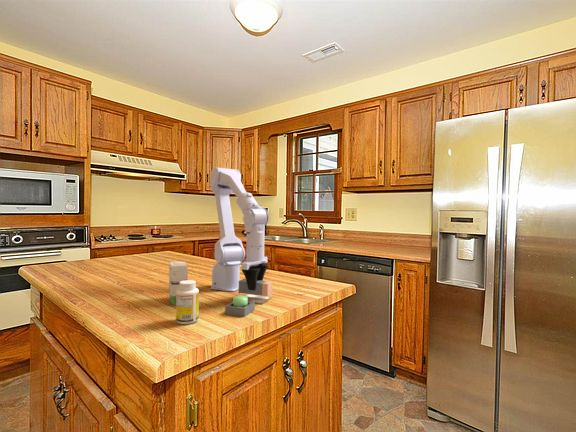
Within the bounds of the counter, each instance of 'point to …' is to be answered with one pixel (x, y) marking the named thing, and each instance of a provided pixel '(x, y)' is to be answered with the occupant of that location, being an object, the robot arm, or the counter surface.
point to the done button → (240, 301)
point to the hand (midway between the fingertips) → (254, 288)
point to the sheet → (257, 299)
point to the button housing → (240, 309)
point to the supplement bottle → (187, 302)
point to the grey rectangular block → (261, 288)
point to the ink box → (176, 278)
